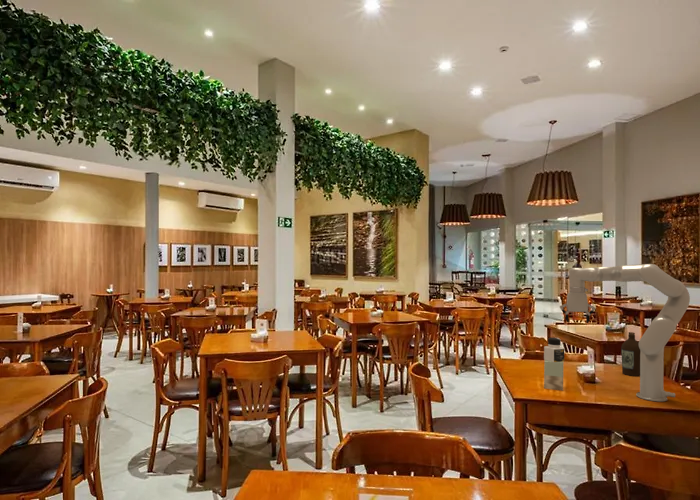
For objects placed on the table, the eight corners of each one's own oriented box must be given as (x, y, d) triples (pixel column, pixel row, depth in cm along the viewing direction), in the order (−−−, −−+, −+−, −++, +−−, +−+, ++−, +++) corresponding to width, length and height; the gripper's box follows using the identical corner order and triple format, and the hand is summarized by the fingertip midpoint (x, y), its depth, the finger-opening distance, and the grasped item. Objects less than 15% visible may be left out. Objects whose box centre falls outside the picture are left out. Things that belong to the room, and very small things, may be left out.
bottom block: (562, 386, 240) (562, 373, 240) (563, 390, 232) (563, 377, 232) (544, 384, 243) (544, 371, 244) (544, 388, 235) (544, 374, 235)
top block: (563, 373, 240) (563, 360, 240) (563, 377, 232) (563, 363, 232) (544, 371, 244) (545, 358, 244) (544, 374, 235) (544, 361, 236)
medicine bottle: (554, 362, 233) (554, 339, 233) (543, 359, 240) (544, 337, 240) (564, 361, 235) (564, 338, 236) (554, 359, 242) (554, 336, 242)
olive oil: (628, 371, 276) (628, 330, 276) (646, 375, 266) (646, 333, 267) (617, 373, 271) (617, 331, 272) (634, 377, 261) (635, 334, 262)
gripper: (593, 290, 244) (594, 322, 243) (558, 289, 250) (559, 320, 249) (596, 291, 237) (596, 324, 236) (560, 290, 243) (560, 322, 242)
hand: (577, 322), depth 243 cm, fingers open, 9 cm apart
